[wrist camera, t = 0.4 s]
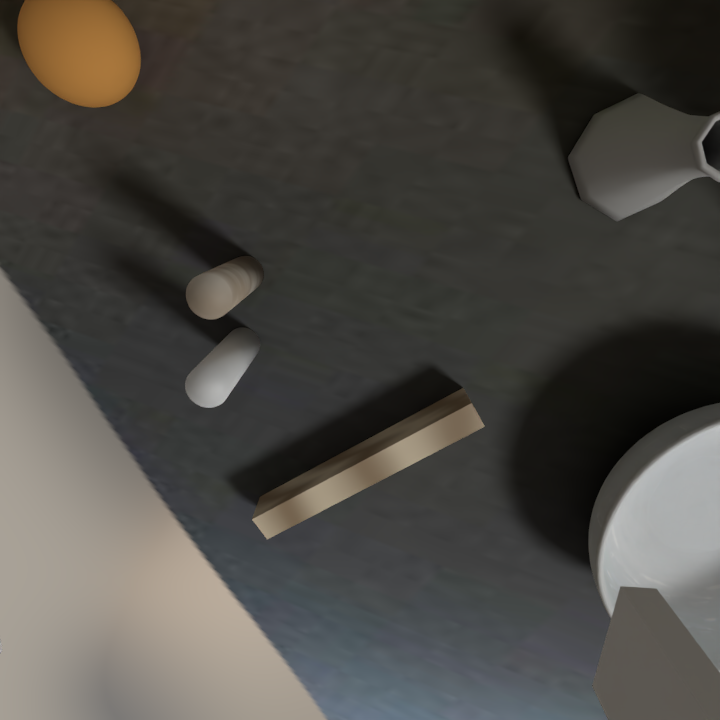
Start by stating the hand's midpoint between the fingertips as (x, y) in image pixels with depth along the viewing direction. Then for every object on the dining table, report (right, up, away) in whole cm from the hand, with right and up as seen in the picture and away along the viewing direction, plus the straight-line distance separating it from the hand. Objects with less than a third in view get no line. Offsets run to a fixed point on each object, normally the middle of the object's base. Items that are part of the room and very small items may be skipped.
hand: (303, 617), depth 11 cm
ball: (-14, +23, +18) cm, 32 cm away
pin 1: (-7, +11, +24) cm, 28 cm away
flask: (+18, +18, +22) cm, 34 cm away
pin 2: (-7, +7, +26) cm, 28 cm away
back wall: (+1, -2, +28) cm, 29 cm away
